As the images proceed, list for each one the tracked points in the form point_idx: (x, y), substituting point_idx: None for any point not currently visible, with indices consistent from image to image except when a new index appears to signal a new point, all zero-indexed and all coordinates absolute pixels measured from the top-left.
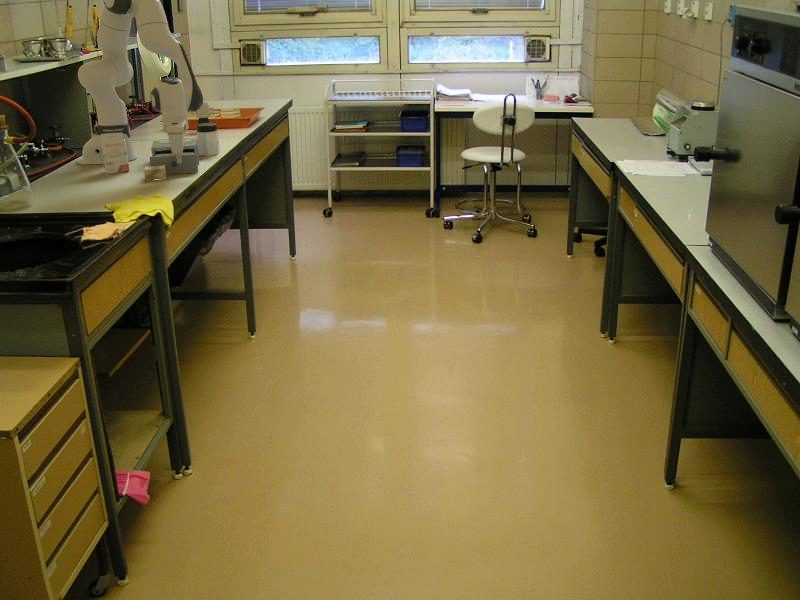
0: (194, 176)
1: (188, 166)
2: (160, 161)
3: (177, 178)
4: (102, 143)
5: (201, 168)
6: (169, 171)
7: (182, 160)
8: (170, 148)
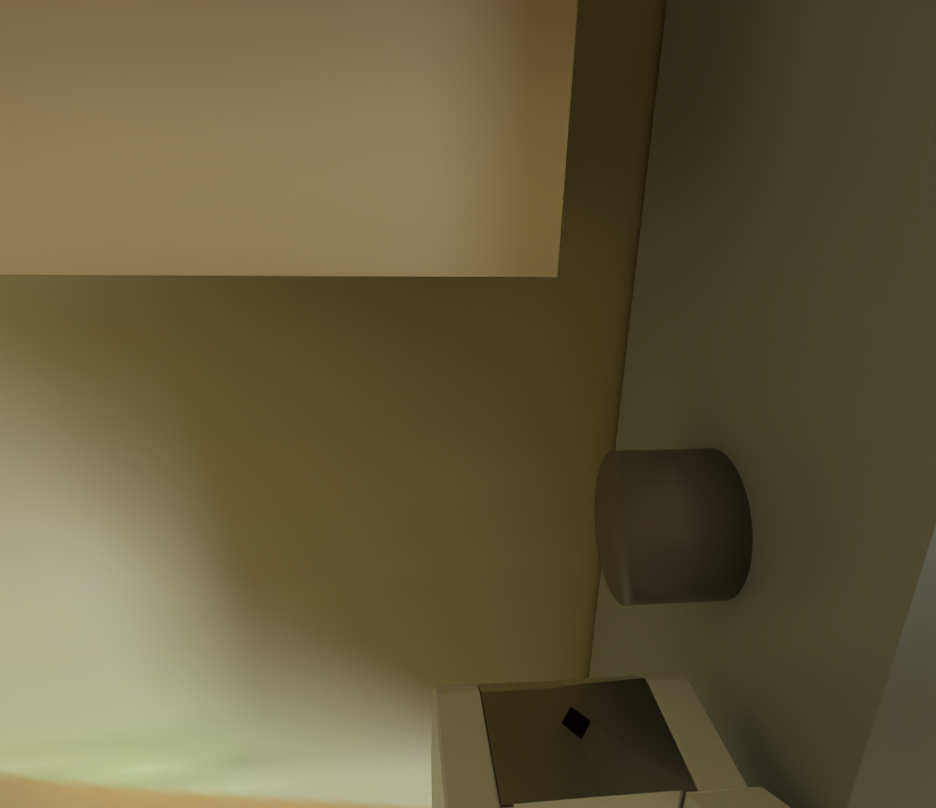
0: (265, 742)
1: None
2: (868, 99)
3: (139, 473)
4: None
5: None
6: (656, 311)
7: None
8: None
